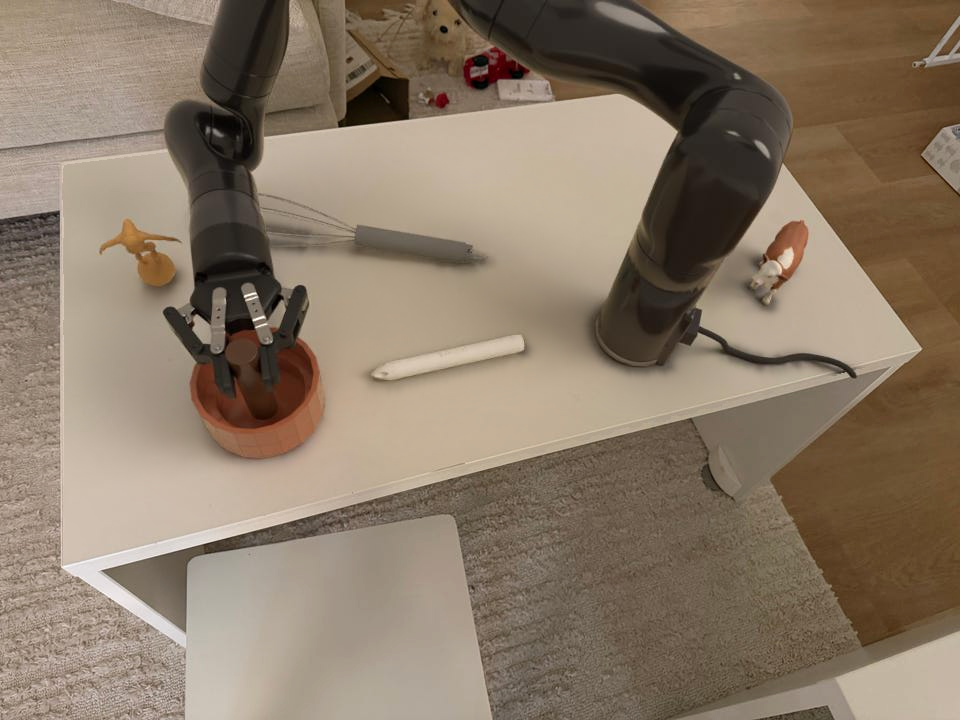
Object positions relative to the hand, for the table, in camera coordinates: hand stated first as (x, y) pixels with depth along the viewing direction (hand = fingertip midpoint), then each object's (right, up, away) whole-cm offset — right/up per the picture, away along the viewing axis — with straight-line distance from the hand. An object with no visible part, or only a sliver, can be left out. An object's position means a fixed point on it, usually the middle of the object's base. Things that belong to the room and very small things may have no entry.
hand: (250, 389), depth 59 cm
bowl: (-3, -3, +13) cm, 13 cm away
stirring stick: (-2, -2, +9) cm, 9 cm away
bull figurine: (+58, +13, +29) cm, 66 cm away
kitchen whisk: (+4, +17, +26) cm, 32 cm away
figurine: (-17, +11, +20) cm, 29 cm away
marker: (+17, +2, +18) cm, 25 cm away
